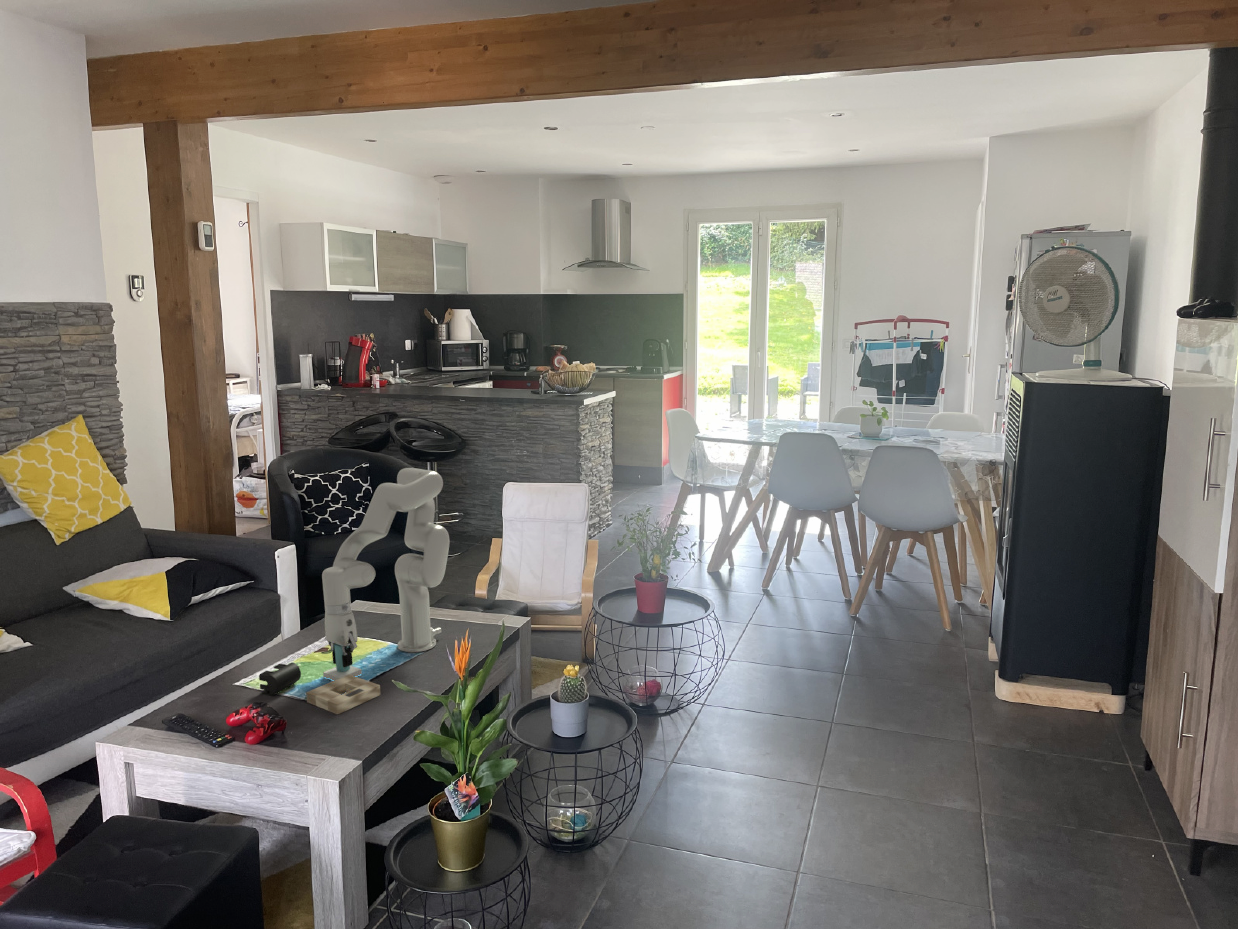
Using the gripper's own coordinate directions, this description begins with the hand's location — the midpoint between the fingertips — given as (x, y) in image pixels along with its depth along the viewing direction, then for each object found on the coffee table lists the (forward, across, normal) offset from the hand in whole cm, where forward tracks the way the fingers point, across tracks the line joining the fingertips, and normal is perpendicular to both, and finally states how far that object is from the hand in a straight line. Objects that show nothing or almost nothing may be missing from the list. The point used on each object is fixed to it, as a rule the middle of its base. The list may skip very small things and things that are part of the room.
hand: (342, 663), depth 268 cm
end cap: (+4, +8, +16) cm, 19 cm away
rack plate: (+4, -13, +10) cm, 17 cm away
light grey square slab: (+4, 0, 0) cm, 4 cm away
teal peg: (+2, 0, 0) cm, 2 cm away
